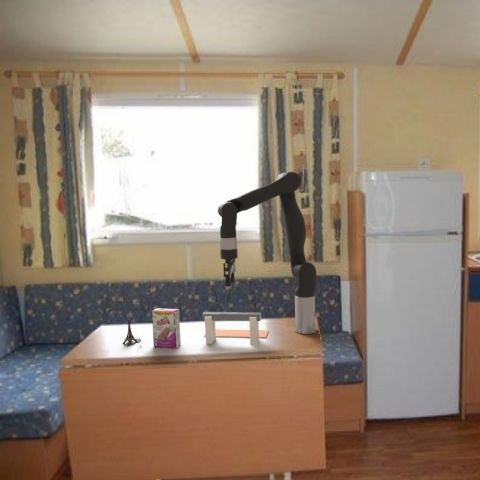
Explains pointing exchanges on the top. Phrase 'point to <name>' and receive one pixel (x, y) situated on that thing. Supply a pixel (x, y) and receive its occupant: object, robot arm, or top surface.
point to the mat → (238, 333)
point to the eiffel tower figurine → (130, 337)
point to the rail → (231, 316)
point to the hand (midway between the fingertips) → (230, 284)
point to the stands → (211, 331)
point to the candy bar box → (166, 328)
